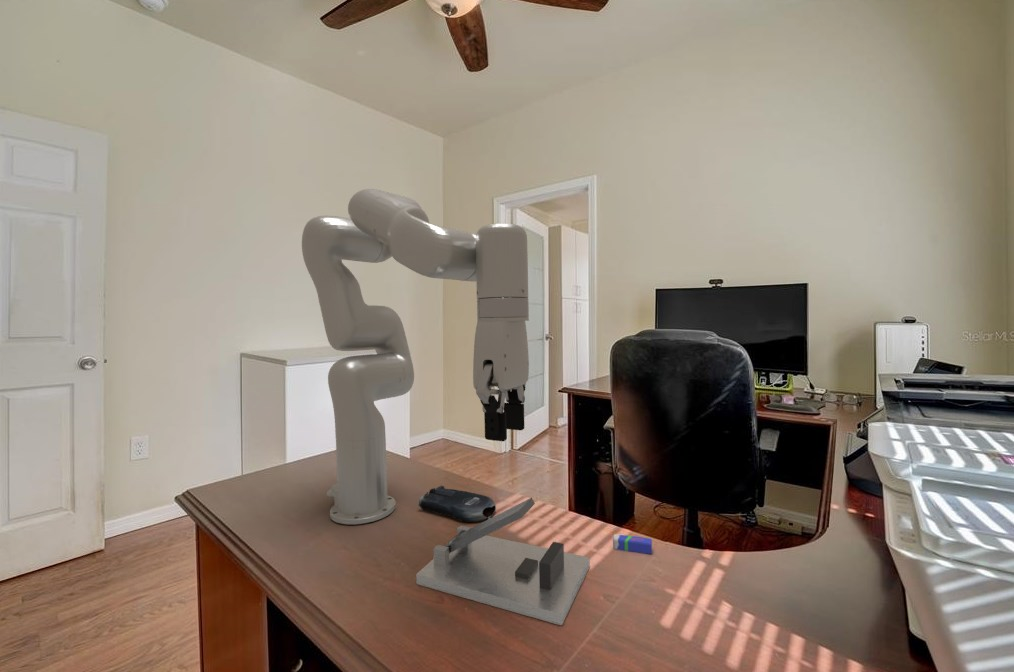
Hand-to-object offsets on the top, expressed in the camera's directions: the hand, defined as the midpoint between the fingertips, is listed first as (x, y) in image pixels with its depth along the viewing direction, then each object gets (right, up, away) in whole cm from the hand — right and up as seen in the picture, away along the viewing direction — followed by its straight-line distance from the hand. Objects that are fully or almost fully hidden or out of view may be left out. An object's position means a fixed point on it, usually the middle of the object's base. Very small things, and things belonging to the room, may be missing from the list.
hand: (505, 433), depth 64 cm
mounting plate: (0, -22, +1) cm, 22 cm away
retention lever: (-2, -15, +2) cm, 16 cm away
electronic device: (-9, -21, +24) cm, 33 cm away
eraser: (+21, -21, +8) cm, 31 cm away
